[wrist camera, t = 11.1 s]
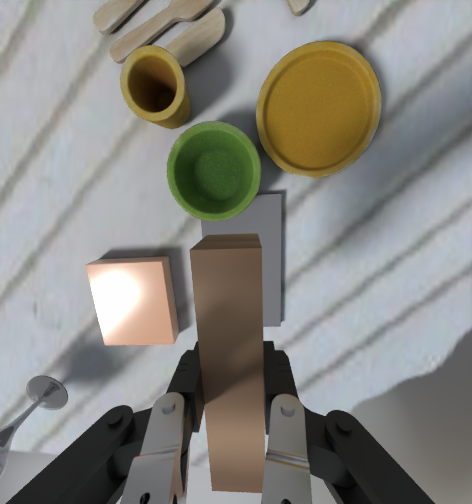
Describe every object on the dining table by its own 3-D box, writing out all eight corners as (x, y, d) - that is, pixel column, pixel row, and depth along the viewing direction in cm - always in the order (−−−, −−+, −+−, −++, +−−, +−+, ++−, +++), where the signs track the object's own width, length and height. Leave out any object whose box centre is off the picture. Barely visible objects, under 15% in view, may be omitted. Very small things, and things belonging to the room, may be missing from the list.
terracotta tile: (85, 264, 28) (105, 345, 31) (161, 261, 27) (174, 344, 30) (100, 258, 31) (117, 332, 34) (169, 255, 30) (180, 331, 33)
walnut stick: (207, 234, 13) (189, 250, 9) (258, 233, 13) (261, 248, 9) (220, 421, 16) (212, 490, 12) (261, 422, 16) (265, 492, 12)
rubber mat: (200, 197, 28) (199, 197, 27) (280, 193, 27) (281, 193, 26) (210, 323, 32) (210, 327, 31) (279, 323, 31) (280, 326, 31)
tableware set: (480, -321, 17) (614, -621, 11) (564, 45, 22) (690, -17, 15) (76, 18, 23) (15, -48, 17) (209, 242, 28) (198, 254, 22)
